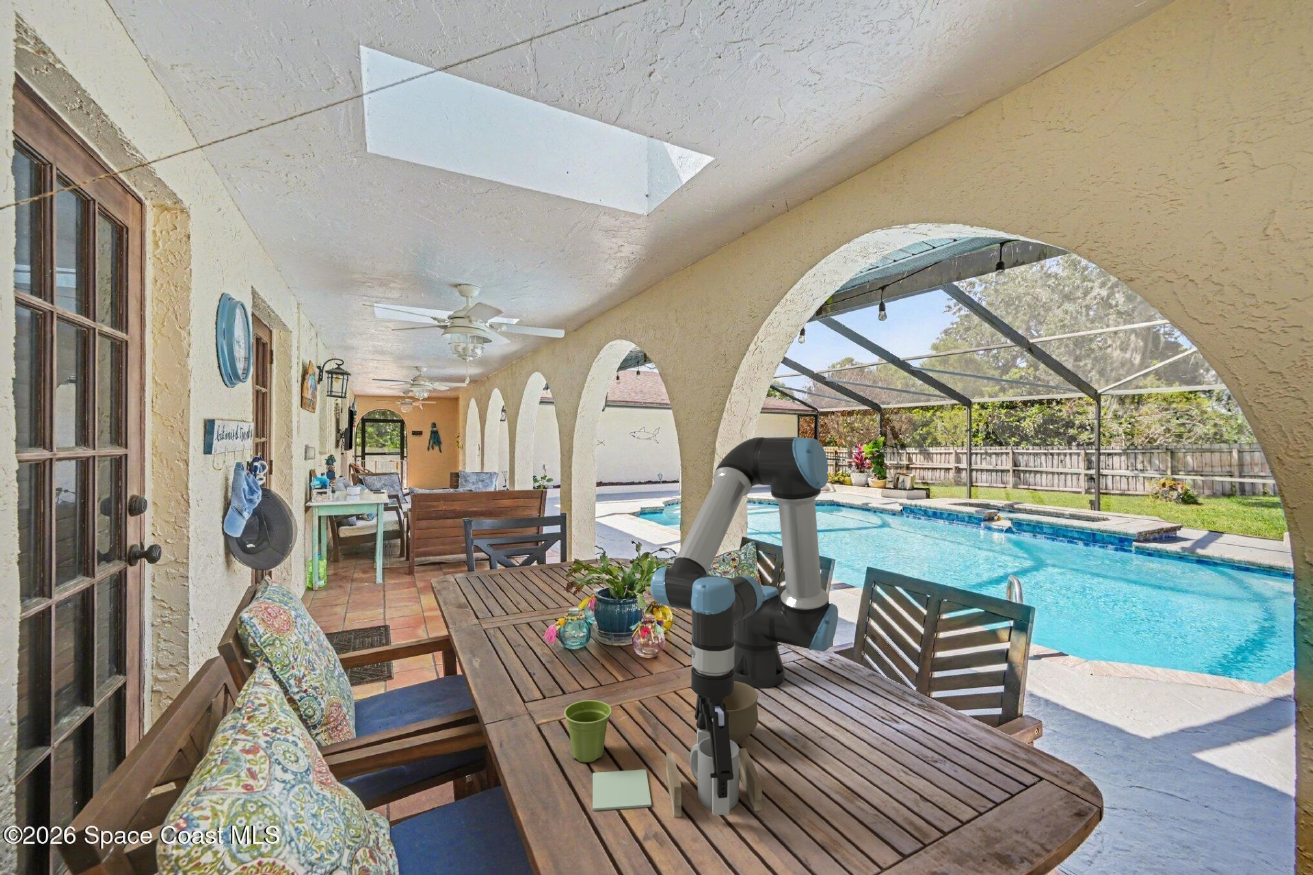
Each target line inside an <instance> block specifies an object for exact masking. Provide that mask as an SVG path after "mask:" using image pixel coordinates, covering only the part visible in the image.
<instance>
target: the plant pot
mask: <svg viewBox="0 0 1313 875" xmlns="http://www.w3.org/2000/svg"><path fill="white" fill-rule="evenodd" d="M612 711H613V710H612V707H611V705H610V704H608V703H606V702H604V701H601V700H596V699H595V700H594V699H592V700H590V699H589V700H588V699H587V700H580V701H576V702H573V703H571V704H569V705H568V706H567V707H565V709H564V712H563V715H564V718H565V720H566V723H567V726H568V732H569V740H570V748H571V755H572V758H573V759H576V760H577V761H578V762H580V763H592V762H595V761H596V760H597V759H599V758H602V756H603V754H604V749H605V748H604V747H605V742H606V741H605V740H606V735H607V727H608V722H609V719H610V717H611V715H612Z"/></svg>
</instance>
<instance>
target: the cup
mask: <svg viewBox="0 0 1313 875" xmlns="http://www.w3.org/2000/svg"><path fill="white" fill-rule="evenodd" d="M730 747H731V757H732V768H733V775H734V777H733V780H729V811H730V810H732V809H733V808H735V806H736V805H737V804H738V803H739V797H740V781H739V780H740V776H739V749H740V747H739V745H738V744H736V743H735V742H734V741H732V740H730ZM689 766H690V771H691V773H692V776H693V777H694V779H695V781H697V798H698V801H699V802H700V804H701V805H702V806H703V807H705V808H706V809H708V810H711V811H712V778H711V777H710V774H711V773H714V766H713V758H712V749H711V741H710V737H709V738H705V739H703V740H702V741H700V742H699V744H697V743H695V744H694V745H693V746H692V748H691V750H690V753H689Z"/></svg>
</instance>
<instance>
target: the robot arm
mask: <svg viewBox="0 0 1313 875" xmlns="http://www.w3.org/2000/svg"><path fill="white" fill-rule="evenodd" d="M828 464H829V463H828V456H827V454H826V451H825V449H824V447H823V445H822V444H821V442H820V441H819V440H817V439H816V438H813V437H809V438H808V437H801V436H790V437H789V436H784V437H783V436H782V437H775V436H774V437H764V436H761V437H760V436H759V437H752V438H749V439H747V440H745V441H742V442H741V443H739V444H738V445H736V446H735V447H734V448H732V449H731V450H730V451H729V452H728V453H727V454H725V456H724V457H723V458H722V459H721V461H720V462H719V463H718V465H717V467H716V469H715V471H714V473H713V476H712V479H713V484H712V486H711V488H710V490H709V491H708V494H707V495H706V498H705V500H704V501H703V503H702V506H701V507H700V509H699V511H698V513H697V515H696V517H695V519H694V522H693V523H692V525H691V528H690V530H689V531H688V532H687V535H686V538H685V539H684V541H683V543H682V545H681V547H680V549H679V551H678V553H677V555H676V556H675V559H674V560H673V562H672V565H671V567H668V566H667V567H666V566H665V567H660V568H658V569H657V570H655V572H654V573H653V575H652V577H651V581H650V595H651V597H652V598H653V600H654V601H655V603H657V604H661V605H663V606H667V607H670V608H673V609H674V608H676V609H683V610H687V611H688V610H689V611H691V647H692V648H691V649H688V653H687V654H688V655H690V656H691V666H692V667H691V670H690V671H691V672H690V674H691V676H690V677H691V678H690V682H691V689H692V691H693V692H694V693H695V694H697V696H696V703H695V704H696V705H695V711H694V719H695V720H696V723H695V725H696V727H697V729H696V744H699V742H700V741H702V740H703V739H705V738H709V737H710V741H711V749H712V758H713V766H714V773H711V774H710V777H711V778H712V810H711V814H712V816H723V815H725V816H726V815H730V810H729V780H733V777H734V775H733V768H732V757H731V747H730V736H729V714H728V711H726V706H725V703H723V701H722V700H723V698H724V697H726V696H728V695H730V694H731V693H732V692H733V690H734V681H736V682H741V683H745V684H747V685H749V686H751V687H753V688H757V689H760V688H761V689H765V688H766V689H767V688H772V687H777V686H779V685H781V684H782V683H783V682H784V681H785V672H786V671H785V666H784V664H783V659H782V657H781V654H780V651H779V643H781V644H785V645H790V646H795V647H799V648H804V649H808V650H809V651H812V650H813V651H816V652H817V651H818V652H826V651H828V650H829V649H830V647H831V645H832V644H833V641H834V638H835V635H836V631H837V627H838V626H837V625H838V622H839V608H838V606H837V604H834V603H833V602H832V603H830V600H829V599H830V598H829V594H828V592H827V591H826V590H825V589H823V588H822V580H821V579H822V578H821V564H820V563H821V562H820V550H819V549H820V548H819V536H818V524H817V512H816V510H817V509H816V499H817V497H819V495H820V494H821V492H822V490H821V489H823V488H825V486H826V485H827V483H828V480H829V475H828V474H829V473H828V472H829V466H828ZM759 485H761V486H769V487H770V494H771V497H772V498H773V499H775V500H776V501H777V503H778V504H777V505H778V513H779V524H780V525H779V526H780V534H781V535H780V536H781V545H782V557H783V558H782V559H783V568H784V569H783V570H784V579H785V581H784V582H785V589H784V590H783V591H782V592H781V594H779V593H780V592H779V589H778V588H777V587H775V586H771V585H761V584H760V583H759V581H758V579H755V578H754V577H753V576H750V575H748V574H743V575H737V576H736V575H735V576H733V577H725V576H721V575H720V576H719V575H712V574H708V573H709V572H710V569H711V568H712V565H713V563H714V560H715V558H716V557H717V554H718V552H719V549H720V547H721V545H722V543H723V541H724V539H725V537H726V534H727V532H728V529H730V528H729V527H730V525H731V523H732V521H733V518H734V517H735V514H736V512H737V510H738V508H739V506H740V504H741V502H742V500H743V497H745V496H747V495H748V494H749V493H750V491H751V490H752V488H753V487H755V486H759Z"/></svg>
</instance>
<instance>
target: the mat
mask: <svg viewBox="0 0 1313 875" xmlns="http://www.w3.org/2000/svg"><path fill="white" fill-rule="evenodd" d="M647 774H648V773H647V769H635V770H633V769H632V770H616V771H603V772H602V771H601V772H592V811H593V812H596V811H605V810H606V811H610V810H622V809H626V810H627V809H639V808H652V799H651V794H650V792H651V791H650V787H649V786H650V785H649V780H648V775H647Z"/></svg>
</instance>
